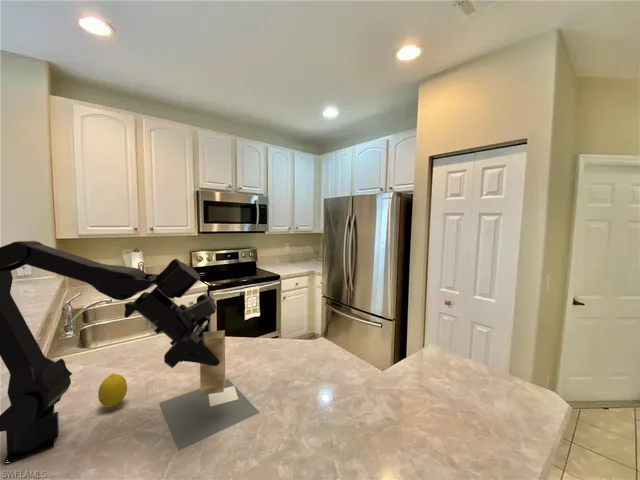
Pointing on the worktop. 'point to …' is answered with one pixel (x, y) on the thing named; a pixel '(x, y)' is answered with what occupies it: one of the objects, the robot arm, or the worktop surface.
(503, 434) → the worktop surface
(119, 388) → the lemon
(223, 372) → the oak block
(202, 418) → the mat
